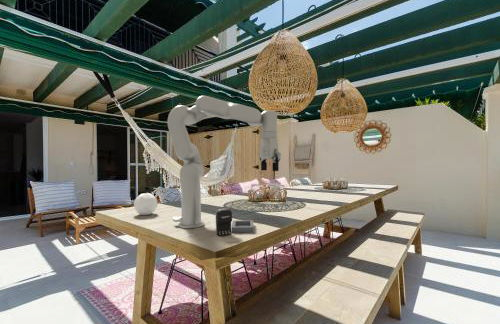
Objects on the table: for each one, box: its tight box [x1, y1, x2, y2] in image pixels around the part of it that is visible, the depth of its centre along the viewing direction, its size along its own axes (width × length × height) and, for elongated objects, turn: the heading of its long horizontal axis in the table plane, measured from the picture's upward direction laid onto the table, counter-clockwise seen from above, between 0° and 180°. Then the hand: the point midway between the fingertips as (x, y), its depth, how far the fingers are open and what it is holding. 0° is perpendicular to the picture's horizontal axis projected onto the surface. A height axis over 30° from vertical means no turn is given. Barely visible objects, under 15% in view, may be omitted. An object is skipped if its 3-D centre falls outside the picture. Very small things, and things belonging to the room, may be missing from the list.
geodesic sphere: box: [133, 192, 158, 216], centre depth 158 cm, size 14×14×14 cm
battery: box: [215, 208, 233, 237], centre depth 113 cm, size 7×4×11 cm, turn 115°
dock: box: [231, 219, 255, 234], centre depth 124 cm, size 10×13×2 cm
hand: (269, 170), depth 129 cm, fingers open, 9 cm apart
